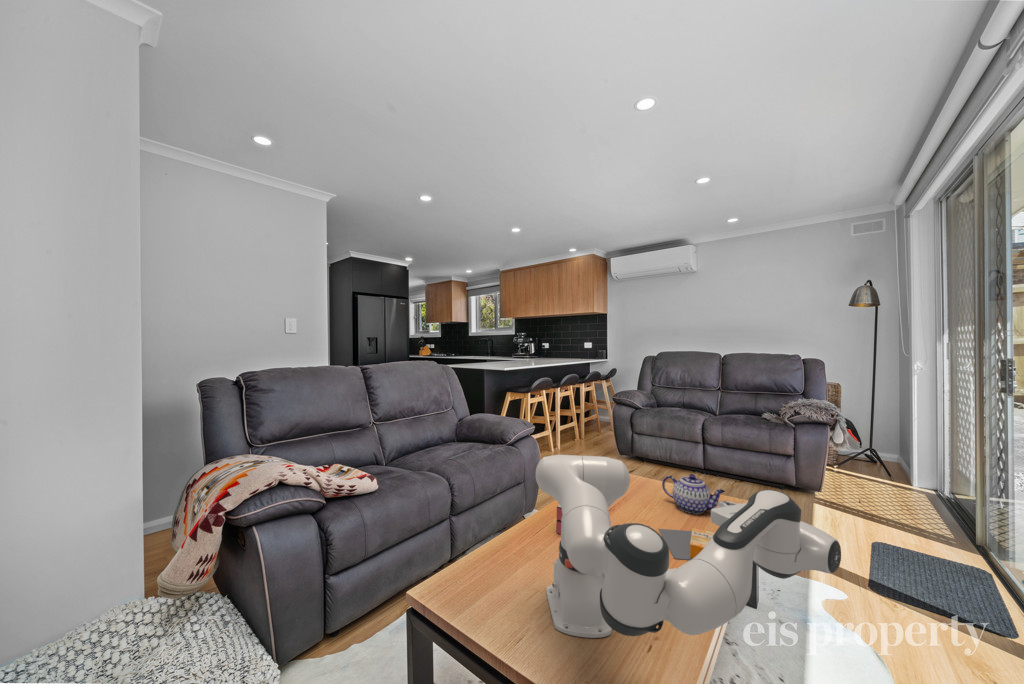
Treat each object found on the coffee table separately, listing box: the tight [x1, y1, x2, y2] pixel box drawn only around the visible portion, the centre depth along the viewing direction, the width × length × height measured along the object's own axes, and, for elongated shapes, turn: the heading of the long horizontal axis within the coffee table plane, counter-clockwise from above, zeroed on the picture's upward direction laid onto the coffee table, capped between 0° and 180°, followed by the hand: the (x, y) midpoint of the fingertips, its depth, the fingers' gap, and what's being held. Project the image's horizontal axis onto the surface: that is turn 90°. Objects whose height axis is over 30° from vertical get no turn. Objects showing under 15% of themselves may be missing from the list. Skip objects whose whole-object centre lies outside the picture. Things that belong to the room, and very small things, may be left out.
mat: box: [658, 528, 693, 561], centre depth 135 cm, size 20×14×1 cm
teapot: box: [661, 473, 726, 515], centre depth 164 cm, size 25×15×15 cm, turn 46°
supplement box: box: [690, 527, 715, 558], centre depth 130 cm, size 8×5×13 cm
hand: (721, 503), depth 113 cm, fingers closed
